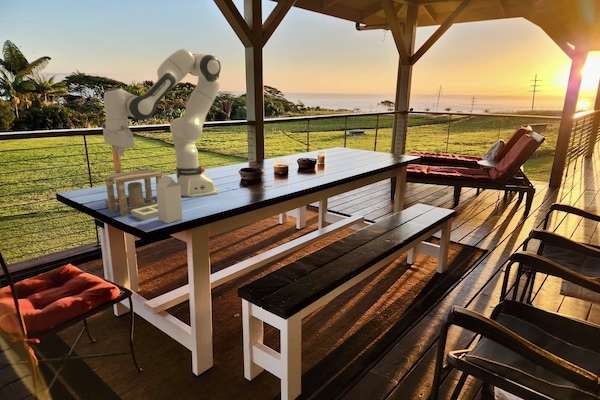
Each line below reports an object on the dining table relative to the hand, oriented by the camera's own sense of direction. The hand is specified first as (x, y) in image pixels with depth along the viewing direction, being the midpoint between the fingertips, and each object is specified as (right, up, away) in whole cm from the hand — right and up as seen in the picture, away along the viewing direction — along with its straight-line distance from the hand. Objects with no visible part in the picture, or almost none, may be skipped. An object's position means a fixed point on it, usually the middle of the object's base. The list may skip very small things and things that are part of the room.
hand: (120, 156), depth 177 cm
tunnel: (+8, -24, 0) cm, 25 cm away
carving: (+8, -24, 0) cm, 25 cm away
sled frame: (+3, -23, +3) cm, 23 cm away
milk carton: (+28, -29, -14) cm, 42 cm away
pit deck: (+17, -26, -7) cm, 32 cm away
